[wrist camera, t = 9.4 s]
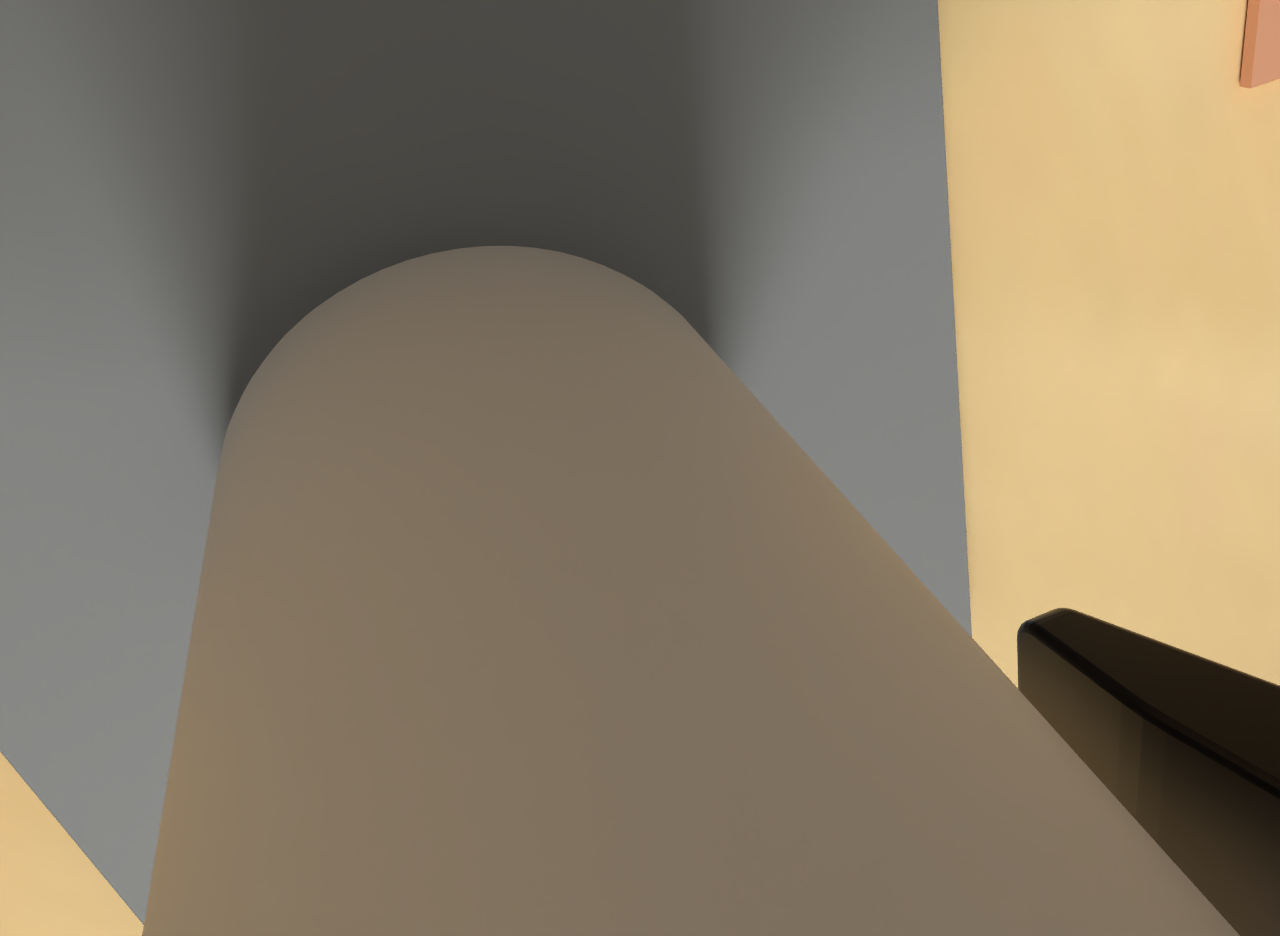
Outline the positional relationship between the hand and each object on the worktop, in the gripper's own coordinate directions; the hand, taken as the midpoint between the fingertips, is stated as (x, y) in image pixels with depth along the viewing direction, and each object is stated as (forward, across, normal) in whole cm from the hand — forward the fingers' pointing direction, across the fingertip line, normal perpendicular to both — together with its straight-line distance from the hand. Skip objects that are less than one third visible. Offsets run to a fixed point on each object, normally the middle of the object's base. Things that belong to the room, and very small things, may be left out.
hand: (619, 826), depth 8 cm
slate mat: (+7, 0, 0) cm, 7 cm away
